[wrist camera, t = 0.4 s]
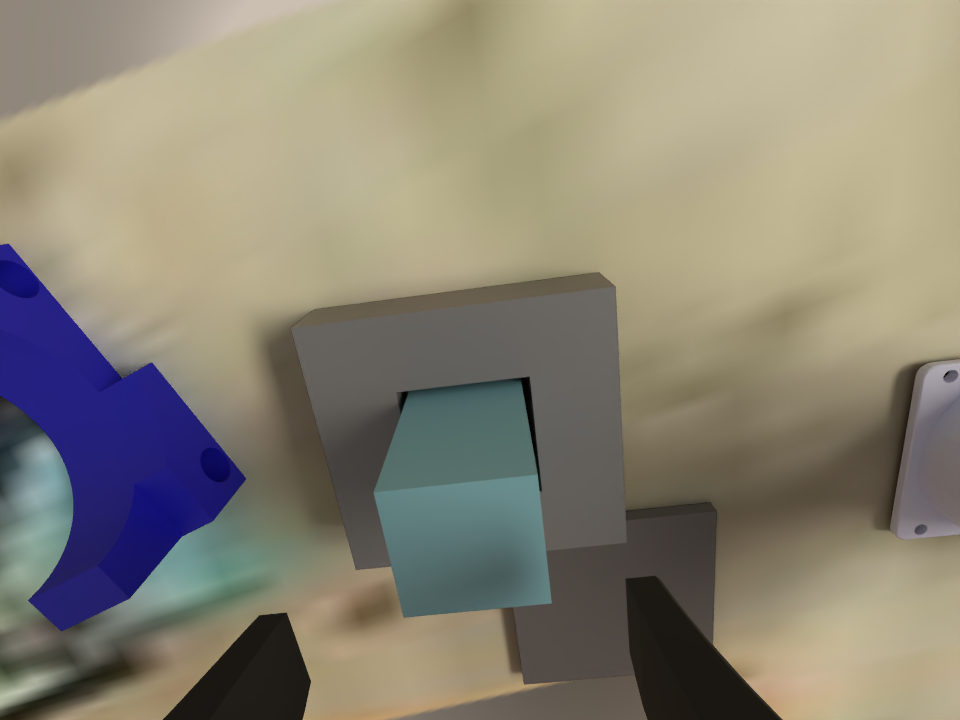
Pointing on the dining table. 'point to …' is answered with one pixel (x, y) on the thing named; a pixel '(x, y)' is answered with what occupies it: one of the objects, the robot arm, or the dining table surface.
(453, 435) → the plug
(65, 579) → the cable clip
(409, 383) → the socket block
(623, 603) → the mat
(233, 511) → the dining table surface
